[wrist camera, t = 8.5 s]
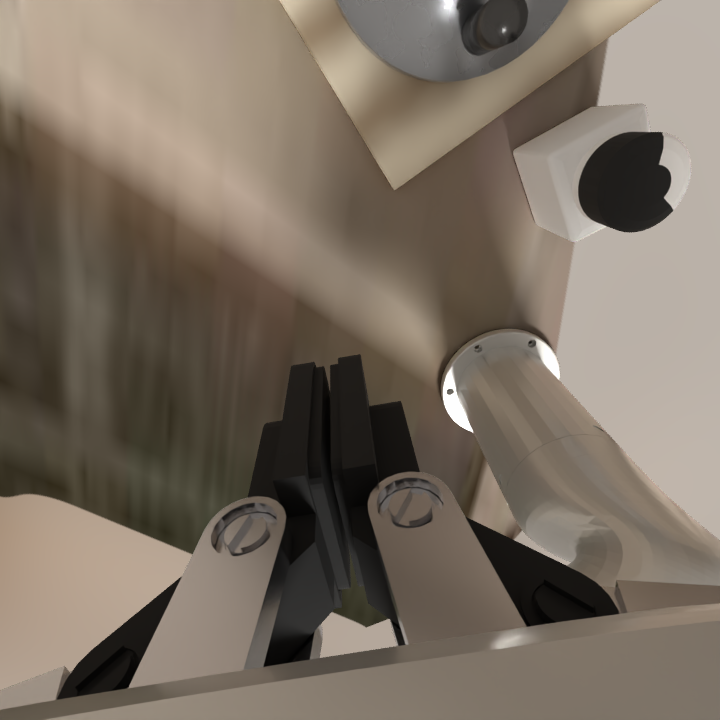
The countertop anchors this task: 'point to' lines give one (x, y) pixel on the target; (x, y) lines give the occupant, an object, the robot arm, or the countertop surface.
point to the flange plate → (448, 33)
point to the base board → (440, 99)
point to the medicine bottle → (603, 173)
